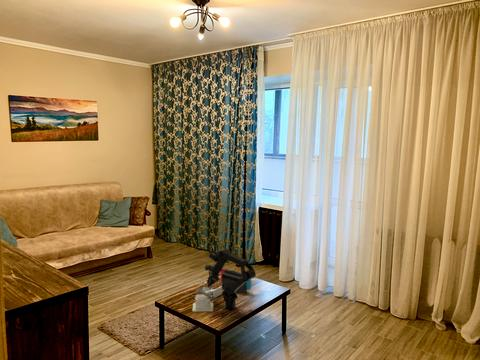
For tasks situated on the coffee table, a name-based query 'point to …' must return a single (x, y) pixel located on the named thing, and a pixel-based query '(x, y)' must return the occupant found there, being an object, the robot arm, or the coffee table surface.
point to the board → (202, 309)
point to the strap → (203, 293)
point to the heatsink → (202, 302)
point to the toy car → (211, 290)
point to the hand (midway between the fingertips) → (207, 284)
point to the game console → (234, 280)
